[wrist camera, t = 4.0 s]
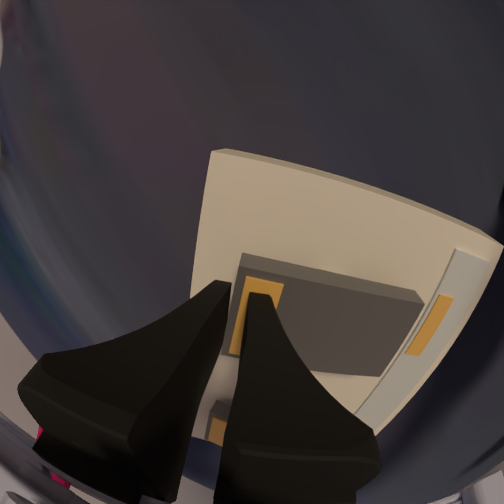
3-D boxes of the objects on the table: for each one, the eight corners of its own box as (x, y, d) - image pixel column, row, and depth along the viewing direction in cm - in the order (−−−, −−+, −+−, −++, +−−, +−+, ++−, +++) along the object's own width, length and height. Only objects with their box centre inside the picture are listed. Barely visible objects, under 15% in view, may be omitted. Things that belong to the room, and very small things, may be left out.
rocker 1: (328, 438, 13) (324, 453, 12) (304, 462, 15) (300, 475, 14) (216, 399, 14) (208, 412, 14) (210, 428, 16) (203, 440, 15)
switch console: (479, 229, 11) (510, 251, 8) (346, 437, 20) (347, 465, 17) (226, 148, 12) (206, 151, 9) (189, 409, 20) (178, 438, 17)
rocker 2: (415, 290, 10) (426, 305, 9) (374, 361, 11) (380, 378, 10) (242, 252, 10) (238, 267, 9) (224, 338, 11) (219, 356, 10)
